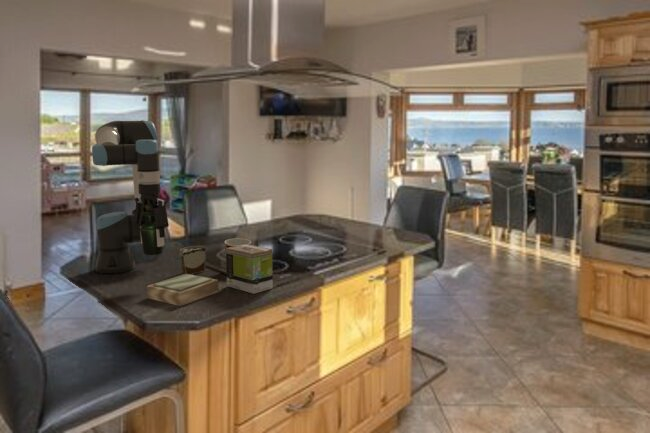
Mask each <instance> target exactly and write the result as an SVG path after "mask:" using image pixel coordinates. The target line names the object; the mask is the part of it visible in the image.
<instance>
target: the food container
mask: <svg viewBox="0 0 650 433" xmlns="http://www.w3.org/2000/svg"><path fill="white" fill-rule="evenodd" d="M207 248H208V247H206V246H204V245H192V246H191V245H190V246H185V247H182V248H180V249H179V251H178V252H179V253H178V256H179V257H180V260H181V267H182V273H183V274H190V275H194V274H195V275H196V274H199V273H202V272H205V271H206V258H207V257H206V256H207V255H206V254H207V252H208V249H207ZM183 274H182V275H183Z"/></svg>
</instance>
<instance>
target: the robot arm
mask: <svg viewBox="0 0 650 433" xmlns="http://www.w3.org/2000/svg"><path fill="white" fill-rule="evenodd" d="M94 137H95V138H94V139H95V143H96V144H95V145H94V144H93V145H92V146H91V153H92V154H91V155H92V163H93V165H94V166H99V167H101V166H102V167H105V166H106V167H107V166H126V165H127V166H130V165H131V169H132V170H131V171H132V181H133V182H132V183H133V184H132V185H133V193H134V204H135V205H134V206H135V207H134V208H133V209H132V210H131V212H132V213H131V214H128V213H127V212H126V211H114V212H109V213H105V214H103V215H100V216H99V217H98V218H96V231H97V245H98V246H97V247H98V253H97V254H98V255H97V258H96V262H95V272H96V271H97V272H96V273H98V272H101V273H100V274H102V273H115V274H120V273H121V274H122V273H126V272H130V271H132V270H134V269H135V265H136V263H135V261H134V258H133V256H132V254H131V250H130V244H135V243H137V244H138V243H141V245H143V244H142V238H141V231H140V228H141V226H142V225H143V224H145V223H146V222H147V219H146V216H144V215H143V211H146V208H145V205H149V207H150V210H151V211H152V212H153V215H154V218H155V221H156V224H157V227H158V228H156V232H157V247H160V246H163V247H164V246H165V238H166V237H165V236H166V235H165V233H166V232H165V230H166V228H168V227H170V226H169V225H170V223H169V218H168V213H167V206H166V204H167V201H166V199H161V198H160V196H159V195H160V194H161V184H160V181H161V176H160V175H161V174H160V165H159V164H160V163H159V162H160V160H159V140H158V134H157V129H156V126H155V124H154V122H152V121H151V120H114V121H109V122H106V123H104V124H103V125H101V126H100V127H99V128H97V130H96V132H95V135H94ZM160 224H161V225H160Z"/></svg>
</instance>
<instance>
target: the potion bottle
mask: <svg viewBox="0 0 650 433" xmlns="http://www.w3.org/2000/svg"><path fill="white" fill-rule="evenodd" d="M145 208H146V211H143V215H144V216H146V219H147V222H146V223H145V224H143V225H142V226H141V228H140V231H141V238H142V244H141V245H142V249H143V250H142V251H143V254H144V255H146V256H157V255H160V254H162V253H163V249H164V248H163V247H164V246H160V247H157V232H156V228H158V227H157V224H156V221H155V218H154V215H153V212H152V211H151V210H150V207H149V205H145ZM160 225H161V224H160Z"/></svg>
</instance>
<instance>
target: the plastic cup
mask: <svg viewBox="0 0 650 433" xmlns="http://www.w3.org/2000/svg"><path fill="white" fill-rule="evenodd" d="M251 243H252V241H251V240H250V239H247V238H241V237H239V238H236V237H235V238H229V239H226V240H224V244H225V249H226V248H229V247H234V246H239V245H244V244H247V245H251Z"/></svg>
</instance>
